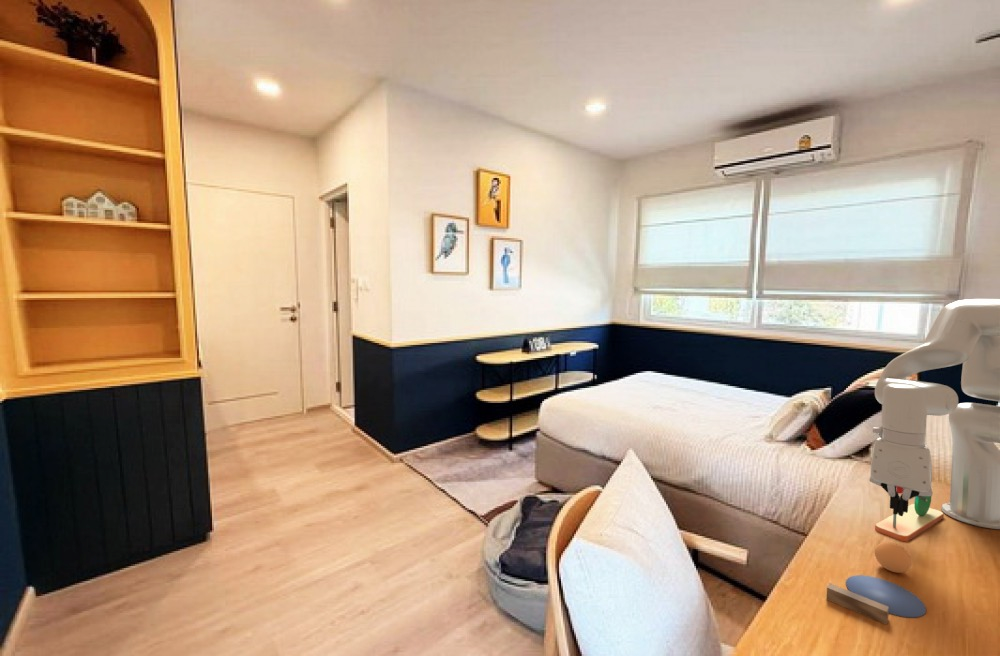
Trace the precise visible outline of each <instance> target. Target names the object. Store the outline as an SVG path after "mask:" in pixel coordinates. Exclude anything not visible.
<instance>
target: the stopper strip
mask: <svg viewBox="0 0 1000 656" xmlns="http://www.w3.org/2000/svg"><path fill="white" fill-rule="evenodd" d="M826 600H828V601H830V602H832V603H835V604H837V605H839V606H841V607H844V608H846V609H848V610H850V611H854V612H856V613H858V614H861V615H862V616H865V617H867V618H870V619H872V620H874V621H877V622H879V623H881V624H883V625H886V626H887V625H888V623H889V622H888V621H889V614H890V613H889V607H888V606H886V605H883V604H881V603H878V602H876V601H873V600H871V599H868V598H866V597H863V596H861V595H858V594H856V593H853V592H851V591H849V589H845V588H843V587H840V586H837V585H835V584H833V583H828V585H827V587H826Z"/></svg>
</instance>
